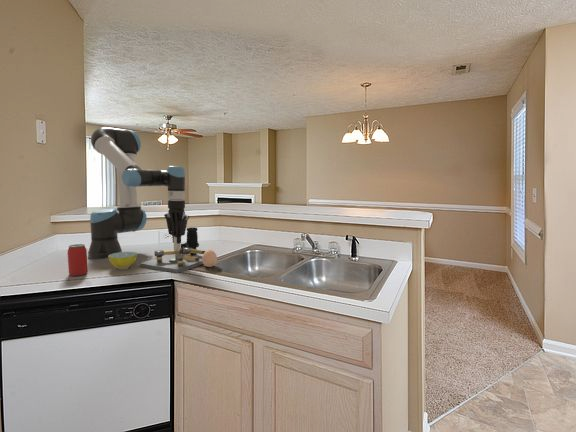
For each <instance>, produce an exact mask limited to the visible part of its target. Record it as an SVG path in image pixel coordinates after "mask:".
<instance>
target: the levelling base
mask: <svg viewBox="0 0 576 432" xmlns="http://www.w3.org/2000/svg"><path fill="white" fill-rule="evenodd" d="M175 255H176V254H174V255H164V256H162V262H157V258H154V259H151V260H150V259H149V260H147V261H144V262H139V264H138V265H139V266H138V267H139V268H145V269H151V270H156V271H162V272H163V271H164V272H169V273H170V272H171V273H174V274H175V273H176V274H178V273H181V272H182V273H183V272H185V271H187V270H190V269H193V268H195V267H198V266H201V265H204V264H203V262H202V257H201V258H200V257H198V258H199V261H189V260H183V266H177V260H175ZM192 267H193V268H192Z"/></svg>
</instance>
